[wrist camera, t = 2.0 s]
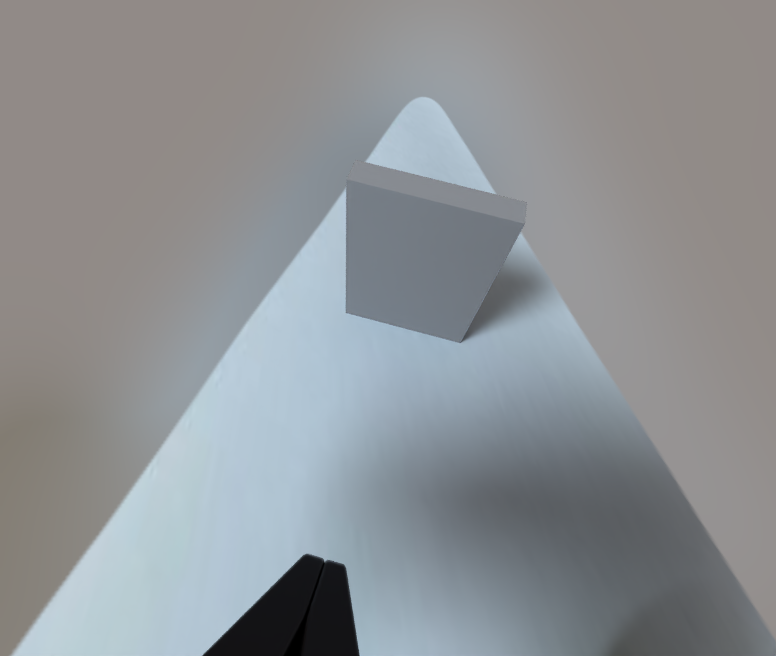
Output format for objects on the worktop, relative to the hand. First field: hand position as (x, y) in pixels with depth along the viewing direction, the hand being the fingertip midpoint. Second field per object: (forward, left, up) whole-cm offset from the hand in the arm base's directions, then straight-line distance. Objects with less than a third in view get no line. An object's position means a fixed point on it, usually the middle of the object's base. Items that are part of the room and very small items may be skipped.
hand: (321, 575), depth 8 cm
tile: (+15, +2, -14) cm, 20 cm away
